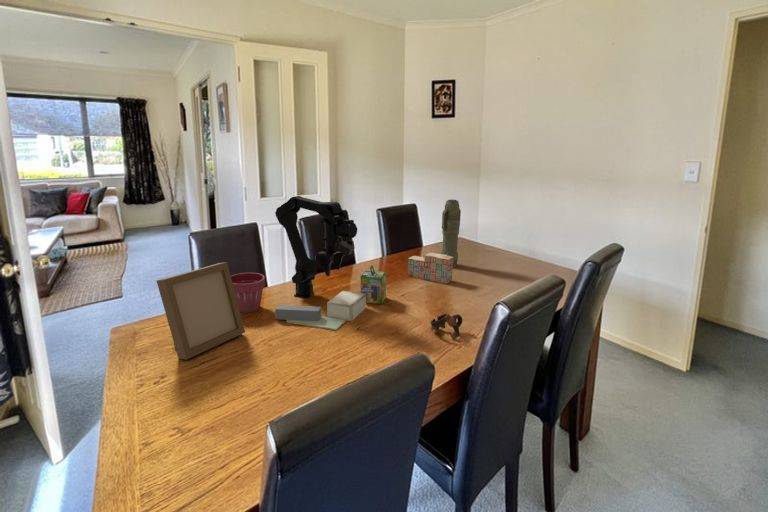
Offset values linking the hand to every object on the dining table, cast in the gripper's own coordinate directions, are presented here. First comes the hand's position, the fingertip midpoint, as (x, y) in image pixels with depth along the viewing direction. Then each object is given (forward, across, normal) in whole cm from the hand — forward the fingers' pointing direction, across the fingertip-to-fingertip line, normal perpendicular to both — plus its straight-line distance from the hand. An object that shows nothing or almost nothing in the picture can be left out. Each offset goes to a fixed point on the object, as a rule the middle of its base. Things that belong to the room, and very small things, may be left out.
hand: (333, 272), depth 168 cm
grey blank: (+12, -19, +5) cm, 23 cm away
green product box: (+13, +9, -14) cm, 21 cm away
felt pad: (+13, -19, -2) cm, 23 cm away
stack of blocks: (+13, +46, -29) cm, 56 cm away
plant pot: (+13, -17, +29) cm, 36 cm away
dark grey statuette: (+13, +71, -34) cm, 80 cm away
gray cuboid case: (+13, -7, -9) cm, 17 cm away
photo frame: (+13, -46, +25) cm, 54 cm away
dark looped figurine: (+13, -12, -49) cm, 52 cm away
